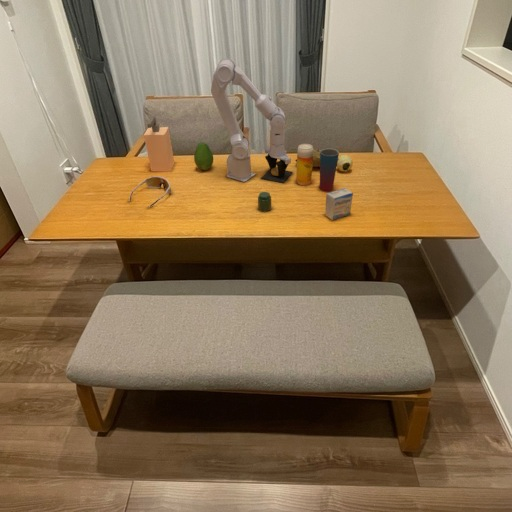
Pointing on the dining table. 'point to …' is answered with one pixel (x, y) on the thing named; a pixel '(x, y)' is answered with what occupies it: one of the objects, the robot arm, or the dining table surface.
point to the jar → (264, 201)
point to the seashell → (315, 158)
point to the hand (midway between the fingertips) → (277, 174)
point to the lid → (274, 171)
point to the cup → (328, 168)
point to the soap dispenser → (159, 147)
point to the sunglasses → (155, 185)
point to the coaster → (276, 177)
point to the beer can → (304, 164)
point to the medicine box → (338, 203)
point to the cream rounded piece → (344, 163)
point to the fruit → (203, 156)
